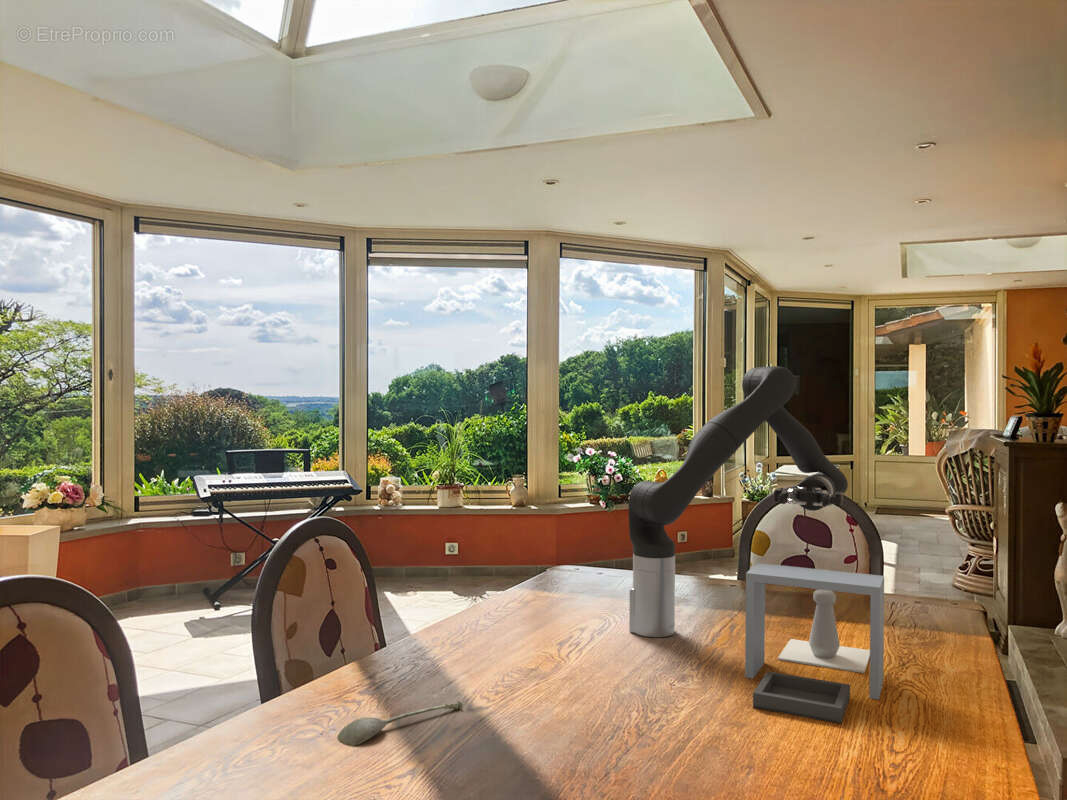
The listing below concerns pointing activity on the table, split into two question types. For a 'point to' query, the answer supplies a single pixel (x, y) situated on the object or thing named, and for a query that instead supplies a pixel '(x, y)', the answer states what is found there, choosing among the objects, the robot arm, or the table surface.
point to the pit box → (802, 696)
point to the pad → (843, 660)
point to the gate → (813, 580)
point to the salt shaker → (824, 626)
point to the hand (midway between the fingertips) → (803, 500)
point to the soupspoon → (378, 725)
